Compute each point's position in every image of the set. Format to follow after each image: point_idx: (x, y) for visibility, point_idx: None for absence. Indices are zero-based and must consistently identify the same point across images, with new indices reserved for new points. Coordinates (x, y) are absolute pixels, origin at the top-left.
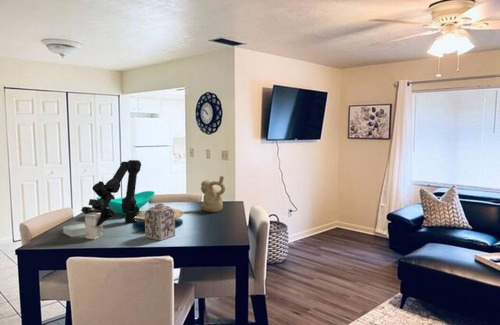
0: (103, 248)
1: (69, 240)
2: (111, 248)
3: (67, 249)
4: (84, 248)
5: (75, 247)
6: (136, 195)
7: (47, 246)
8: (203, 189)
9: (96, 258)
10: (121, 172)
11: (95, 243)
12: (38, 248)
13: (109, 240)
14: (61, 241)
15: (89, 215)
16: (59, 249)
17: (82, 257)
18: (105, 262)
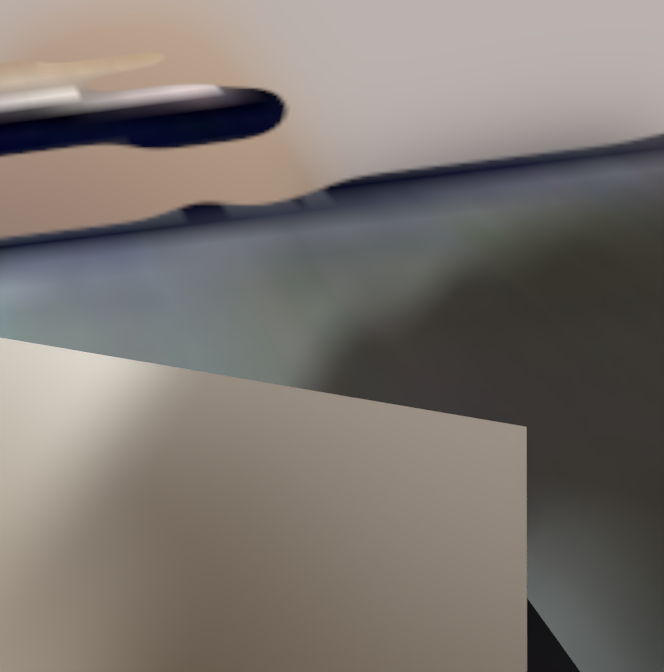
0: (73, 233)
1: (574, 413)
2: (6, 241)
3: (367, 178)
4: (236, 214)
5: (330, 223)
6: None
7: (622, 212)
8: None
9: (75, 90)
10: None
11: (192, 343)
12: (649, 164)
13: None
14: (639, 365)
15: (214, 378)
16: (436, 170)
17: (168, 88)
18: (12, 61)
